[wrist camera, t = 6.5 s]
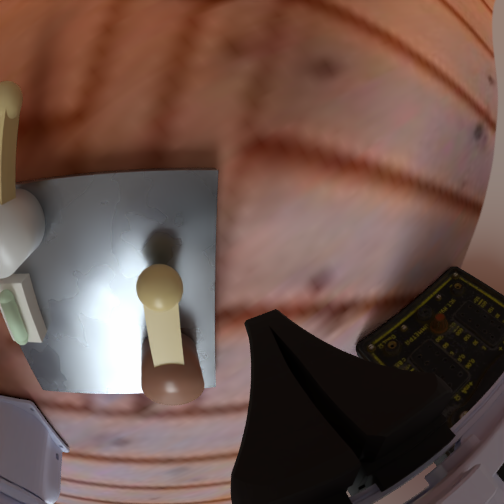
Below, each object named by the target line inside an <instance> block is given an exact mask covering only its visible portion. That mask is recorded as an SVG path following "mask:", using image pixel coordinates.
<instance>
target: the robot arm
mask: <svg viewBox="0 0 504 504" xmlns="http://www.w3.org/2000/svg"><path fill="white" fill-rule="evenodd" d="M244 324H245V327H246V330H247V333H248V336H249V342H250V352H251V389H250V400H249V407H248V414H247V420H246V425H245V429H244V434H243V438H242V442H241V446H240V449H239V453H238V456H237V459H236V462H235V465H234V468H233V471H232V474H231V500H232V504H373V503H375V502H376V501H378V500H380V499H382V498H383V497H385V496H387V495H388V494H390V493H391V492H393V491H395V490H396V489H398V488H399V487H401V486H402V485H404V484H405V483H406V482H408V481H410V480H411V479H412V478H414V477H415V476H416V475H418V474H419V473H421V472H422V471H423V470H424V469H426V468H427V467H428V466H430V465H431V464H432V463H433V462H435V461H436V460H437V459H438V458H440V457H441V456H442V455H443V454H444V453H445V452H447V451H448V450H449V449H450V448H451V447H452V446H453V445H454V444H455V446H454V451H453V452H452V453H451V454H450V455H449V456H448V457H447V458H446V459H445V460H443V461H442V462H441V463H440V464H439V465H438V466H437V467H436V468H435V469H433V470H432V471H431V472H430V473H429V474H427V475H426V476H425V479H426V481H427V482H428V483H429V486H428V487H426V488H425V489H424V490H422V491H421V492H419V493H418V494H417V495H415V496H414V497H412V498H411V499H410V500H408V501H406V502H405V503H403V504H504V482H503V481H502V479H501V478H500V477H499V476H498V475H497V473H496V472H497V471H498V470H499V468H500V467H501V466H502V464H503V463H504V372H503V374H502V375H501V376H500V377H499V378H498V380H497V381H496V382H495V383H494V384H493V386H492V387H491V388H490V389H489V390H488V391H487V392H486V394H485V395H484V396H483V397H482V398H481V399H480V400H479V401H478V402H477V403H476V404H475V405H474V406H473V407H472V408H471V409H470V410H469V411H468V412H467V413H466V414H465V415H464V416H463V417H462V418H461V419H460V420H459V421H458V422H457V423H456V424H455V425H454V426H453V427H452V428H449V427H448V426H447V425H446V424H445V422H446V421H447V419H446V417H445V416H444V415H443V414H442V412H443V410H444V409H445V407H446V406H447V404H448V402H449V401H450V399H451V397H452V391H453V390H452V389H451V388H450V387H449V386H448V385H447V384H446V383H445V382H444V381H443V380H442V379H441V378H440V377H438V376H437V375H436V374H435V373H426V372H417V371H408V370H402V369H397V368H392V367H388V366H385V365H381V364H377V363H374V362H370V361H367V360H364V359H362V358H359V357H356V356H354V355H351V354H349V353H346V352H344V351H342V350H340V349H338V348H336V347H333V346H332V345H330V344H328V343H326V342H324V341H322V340H320V339H319V338H317V337H315V336H314V335H312V334H310V333H309V332H307V331H306V330H304V329H303V328H301V327H300V326H298V325H297V324H295V323H294V322H292V321H291V320H290V319H288V318H287V317H286V316H285V315H283V314H282V313H281V312H280V311H278V310H276V309H275V310H273V311H270V312H267V313H265V314H262V315H259V316H257V317H254V318H251V319H248V320H246V322H245V323H244ZM62 452H69V448H68V447H67V446H66V445H65V443H64V442H63V441H62V440H61V439H60V437H59V436H58V435H57V434H56V432H55V431H54V430H53V429H52V427H51V426H50V425H49V423H48V422H47V421H46V419H45V418H44V417H43V415H42V414H41V412H40V411H39V410H38V408H37V407H36V405H35V404H34V403H33V402H32V401H29V400H23V399H17V398H12V397H6V396H1V395H0V504H54V503H55V502H56V500H57V499H58V497H59V495H60V484H61V463H62ZM347 490H348V492H349V493H350V495H351V497H348V495H347V494H346V491H347Z"/></svg>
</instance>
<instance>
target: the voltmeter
mask: <svg viewBox="0 0 504 504" xmlns="http://www.w3.org/2000/svg"><path fill="white" fill-rule="evenodd" d="M356 352H357V355H358V356H359V358H362V359H364V360H367V361H370V362H374V363H377V364H381V365H385V366H388V367H392V368H397V369H402V370H408V371H417V372H426V373H435V374H436V375H437V376H438V377H440V378H441V379H442V380H443V381H444V382H445V383H446V384H447V385H448V386H449V387H450V388H451V389H452V390H453V391H452V397H451V399H450V401H449V402H448V404H447V406H446V407H445V409H444V410H443V412H442V414H443V415H444V416H445V417H446V419H447V421H446V422H445V424H446V425H447V426H448V427H449V428H452V427H453V426H454V425H455V424H456V423H457V422H458V421H459V420H460V419H461V418H462V417H463V416H464V415H465V414H466V413H467V412H468V411H469V410H470V409H471V408H472V407H473V406H474V405H475V404H476V403H477V402H478V401H479V400H480V399H481V398H482V397H483V396H484V395H485V394H486V392H487V391H488V390H489V389H490V388H491V387H492V386H493V384H494V383H495V382H496V381H497V380H498V378H499V377H500V376H501V375H502V374H503V372H504V296H503V295H502V294H500V293H499V292H497V291H496V290H494V289H493V288H491V287H490V286H488V285H486V284H485V283H483V282H482V281H480V280H478V279H477V278H475V277H473V276H472V275H470V274H468V273H467V272H465V271H464V270H462V269H460V268H458V267H451V268H450V269H449V270H448V271H447V272H446V273H445V274H444V275H443V276H441V277H440V278H439V279H438V280H437V281H436V282H435V283H434V284H433V285H432V286H430V287H429V288H428V289H427V290H426V291H425V292H424V293H423V294H421V295H420V296H419V297H418V298H417V299H416V300H414V301H413V302H412V303H411V304H410V305H408V306H407V307H406V308H405V309H404V310H402V311H401V312H400V313H399V314H397V315H396V316H395V317H393V318H392V319H391V320H390V321H388V322H387V323H386V324H384V325H383V326H382V327H380V328H379V329H378V330H376V331H375V332H374V333H372V334H371V335H370V336H368V337H367V338H365V339H364V340H363V341H361V342H360V343H358V344H357V346H356ZM454 446H455V444H454V445H453V446H452V447H451V448H450V449H449V450H448V451H447V452H445V453H444V454H443V455H442V456H441V457H440V458H438V459H437V460H436V461H435V462H434V463H435V464H436V466H438V465H439V464H440V463H441V462H442V461H443V460H445V459H446V458H447V457H448V456H449V455H450V454H451V453H452V452H453V451H454ZM496 473H497V475H498V476H499V477H500V478H501V479H502V481H503V482H504V463H503V464H502V466H501V467H500V468H499V470H498V471H497V472H496Z"/></svg>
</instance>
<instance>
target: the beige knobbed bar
mask: <svg viewBox="0 0 504 504" xmlns="http://www.w3.org/2000/svg"><path fill="white" fill-rule="evenodd" d="M136 292H137V296H138V298H139V300H140V302H141V303H142V304H143V308H144V314H145V320H146V326H147V332H148V338H147V339H146V340H145V341H144V343H143V345H142V348H141V387H142V391H143V393H144V394H145V395H146V396H147V397H148V398H149V399H151V400H152V401H154V402H156V403H159V404H163V405H182V404H186V403H189V402H191V401H193V400H195V399H197V398H198V397H199V396H200V395H201V394H202V392H203V390H204V387H205V384H204V379H203V375H202V371H201V366H200V362H199V358H198V353H197V349H196V345H195V343H194V342H193V340H192V339H191V338H189V337H188V336H187V335H185V334H183V333H181V329H180V318H179V305H178V303H179V302H180V300H181V298H182V295H183V282H182V279H181V277H180V275H179V274H178V273H177V271H176V270H174V269H173V268H172V267H170V266H168V265H164V264H154V265H151V266H149V267H147V268H146V269H144V270H143V271H142V272H141V274H140V275H139V277H138V280H137V283H136Z"/></svg>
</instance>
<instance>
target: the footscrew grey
mask: <svg viewBox="0 0 504 504" xmlns="http://www.w3.org/2000/svg"><path fill="white" fill-rule="evenodd" d="M22 102H23V96H22V91H21V89H20V87H19V86H18V85H17V84H16V83H14V82H12V81H3V82H0V278H7V277H9V276H10V275H12V274H13V273H14V272H15V271H16V270H17V269H18V267H19V266H20V265H21V264H22V263H23V262H24V261H25V260H26V259H27V258H28V257H29V256H30V254H31V253H32V252H33V251H34V250H35V249H36V248H37V247H38V246H39V245H40V243H41V241H42V239H43V236H44V232H45V217H44V213H43V210H42V207H41V205H40V203H39V201H38V200H37V199H36V197H35V196H34V195H33V194H31V193H30V192H29V191H27V190H24V189H19V188H17V189H16V188H15V169H16V146H17V133H18V124H19V116H20V110H21V107H22Z"/></svg>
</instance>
